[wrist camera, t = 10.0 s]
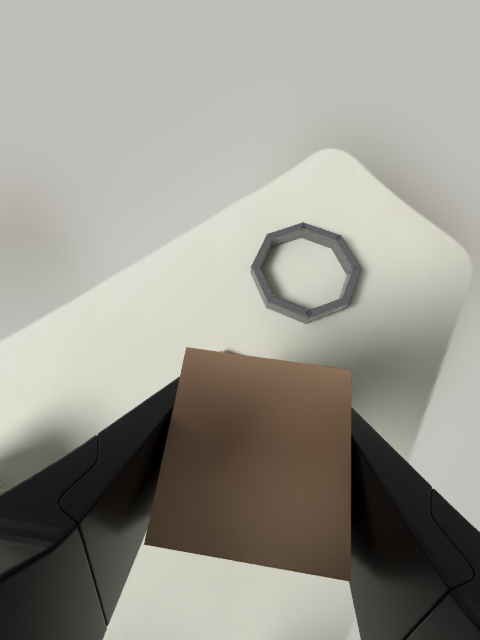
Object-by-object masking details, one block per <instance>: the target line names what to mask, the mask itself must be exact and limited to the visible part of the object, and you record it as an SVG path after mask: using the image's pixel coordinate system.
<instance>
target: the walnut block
mask: <svg viewBox="0 0 480 640" xmlns="http://www.w3.org/2000/svg"><path fill="white" fill-rule="evenodd" d="M144 545H150V546H155V547H161V548H167V549H172V550H178V551H183V552H189V553H194V554H200V555H206V556H211V557H217V558H222V559H228V560H233V561H239V562H245V563H250V564H256V565H261V566H267V567H272V568H278V569H284V570H289V571H295V572H300V573H306V574H311V575H317V576H323V577H328V578H334V579H339V580H345V581H350V582H351V370H347V369H340V368H332V367H325V366H318V365H311V364H303V363H296V362H289V361H282V360H274V359H267V358H260V357H253V356H245V355H238V354H231V353H224V352H216V351H209V350H202V349H195V348H187V347H186V351H185V356H184V361H183V365H182V370H181V375H180V379H179V384H178V389H177V393H176V398H175V403H174V407H173V412H172V417H171V421H170V426H169V431H168V435H167V440H166V445H165V449H164V454H163V459H162V464H161V468H160V473H159V478H158V482H157V487H156V492H155V496H154V501H153V506H152V510H151V515H150V520H149V524H148V529H147V534H146V538H145V543H144Z"/></svg>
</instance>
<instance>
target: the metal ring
mask: <svg viewBox="0 0 480 640" xmlns="http://www.w3.org/2000/svg"><path fill="white" fill-rule="evenodd" d="M300 237H301V238H304V239H307V240H310V241H313V242H315V243H318V244H321V245H324V246H326V247H329V248H332V250H333V252H334V253H335V255H336V257H337V259H338V260H339V262H340V264H341V265H342V267H343V269H344V271H345V272H346V274H347V278H346V280H345V283H344V286H343V289H342V292H341V294H340V297H339V299H338V300H336V301H333V302H330V303H327V304H325V305H322V306H319V307H317V308H314V309H311V310H306V309H304V308H301V307H299V306H296V305H294V304H291V303H289V302H286V301H284V300H281V299H279V298H276V297H274V296H273V294H272V292H271V290H270V288H269V286H268V284H267V281H266V279H265V277H264V275H263V273H262V271H261V267H262V265H263V263H264V261H265V259H266V257H267V255H268V253H269V251H270V249H271V247H273V246H276V245H279V244H282V243H285V242H288V241H291V240H294V239H297V238H300ZM360 270H361V268H360V266H359V265H358V263H357V261H356V260H355V258H354V256H353V255H352V253H351V251H350V250H349V248H348V246H347V245H346V243H345V242H344V240H343V238H342V237H341V235H338V234H335V233H332V232H329V231H326V230H323V229H321V228H318V227H315V226H312V225H309V224H306V223H304V222H303V223H300V224H297V225H294V226H291V227H288V228H285V229H282V230H279V231H276V232H272V233H269V234H267V235H266V238H265V240H264V242H263V244H262V246H261V248H260V250H259V252H258V254H257V256H256V258H255V260H254V262H253V264H252V265H251V274H252V277H253V279H254V281H255V283H256V286H257V288H258V290H259V292H260V294H261V297H262V299H263V301H264V303H265V306H266V308H269V309H271V310H274V311H276V312H279V313H281V314H283V315H286V316H288V317H291V318H293V319H296V320H298V321H301V322H303V323H308V322H311V321H313V320H316V319H319V318H321V317H324V316H327V315H329V314H332V313H335V312H337V311H340V310H343V309H344V308H345V307H346V306H347V305H348V304H349V301H350V298H351V295H352V293H353V290H354V287H355V284H356V281H357V278H358V275H359V272H360Z"/></svg>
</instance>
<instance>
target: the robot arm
mask: <svg viewBox="0 0 480 640" xmlns="http://www.w3.org/2000/svg"><path fill="white" fill-rule="evenodd" d="M179 379H180V377H178V378H177V379H175V380H174V381H172V382H171V383H170V384H168V385H167V386H165V387H164V388H162V389H161V390H160V391H158V392H157V393H155V394H154V395H152V396H151V397H150V398H148V399H147V400H145V401H144V402H142V403H141V404H140V405H138V406H137V407H135V408H134V409H132V410H131V411H130V412H128V413H127V414H125V415H124V416H122V417H121V418H120V419H118V420H117V421H115V422H114V423H112V424H111V425H110V426H108V427H107V428H105V429H104V430H102V431H101V432H100V433H98V437H97V436H96V435H95V436H94V437H92V438H91V439H89V440H88V441H87V442H85V443H84V444H82V445H81V446H79V447H78V448H76V449H75V450H73V451H72V452H70V453H69V454H67V455H66V456H64V457H63V458H61V459H59V460H58V461H56V462H54V463H53V464H51V465H50V466H48V467H46V468H45V469H43V470H41V471H40V472H38V473H36V474H35V475H33V476H31V477H30V478H28V479H26V480H25V481H23V482H21V483H20V484H18V485H16V486H14V487H13V488H11V489H9V490H8V491H6V492H4V493H3V494H1V495H0V640H103V637H104V635H105V632H106V630H107V627H106V626H108V624H109V622H110V619H111V617H112V615H113V612H114V610H115V607H116V605H117V602H118V600H119V597H120V595H121V592H122V590H123V587H124V585H125V583H126V580H127V578H128V575H129V573H130V570H131V568H132V565H133V563H134V560H135V558H136V555H137V553H138V550H139V548H140V546H141V543H142V541H143V538H144V536H145V533H146V531H147V528H148V524H149V520H150V515H151V510H152V506H153V501H154V496H155V492H156V487H157V482H158V478H159V473H160V468H161V464H162V459H163V454H164V449H165V445H166V440H167V435H168V431H169V426H170V421H171V417H172V412H173V407H174V403H175V398H176V393H177V389H178V384H179ZM349 583H350V588H351V593H352V598H353V603H354V608H355V613H356V618H357V623H358V627H359V632H360V637H361V640H480V532H479V531H478V530H477V529H476V528H474V527H473V526H472V525H471V524H470V523H469V522H468V521H467V520H466V519H465V518H464V517H463V516H462V515H461V514H459V512H458V511H457V510H455V509H454V508H453V507H452V506H451V505H450V504H449V503H448V502H447V501H446V500H445V499H444V498H443V497H442V496H441V495H440V494H439V493H438V492H437V491H436V490H435V489H432V486H431V485H430V484H429V483H428V482H427V481H426V480H425V479H424V478H423V477H421V475H420V474H419V473H418V472H416V471H415V469H413V467H412V466H411V465H410V464H409V463H408V462H407V461H405V460H404V459H403V458H402V457H401V456H400V455H399V454H398V453H397V452H396V451H395V450H394V449H393V448H392V447H391V446H390V445H389V444H388V443H387V442H386V441H385V440H384V439H383V438H382V437H381V436H380V435H379V434H378V433H377V432H376V431H375V430H374V429H373V428H372V427H371V426H370V425H369V424H368V423H367V422H366V421H365V420H364V419H363V418H362V417H361V416H360V415H359V414H358V413H357V412H356V411H355V410H354V409H353V408H352V407H351V582H350V581H349Z"/></svg>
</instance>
